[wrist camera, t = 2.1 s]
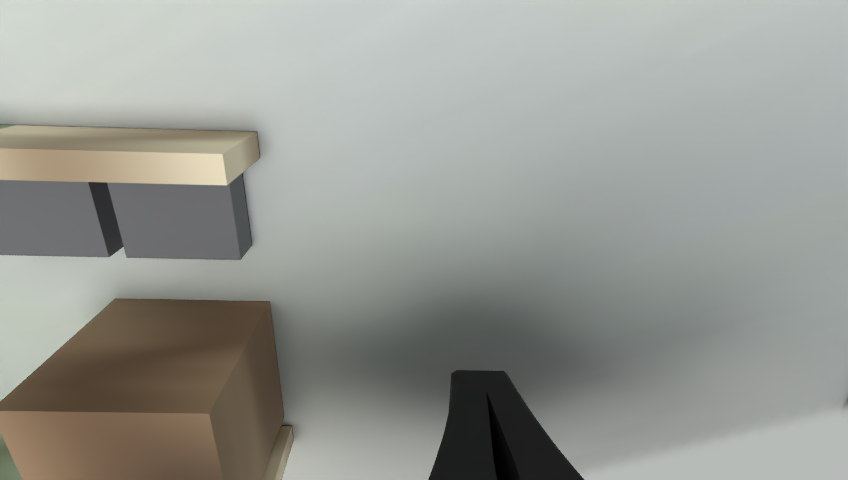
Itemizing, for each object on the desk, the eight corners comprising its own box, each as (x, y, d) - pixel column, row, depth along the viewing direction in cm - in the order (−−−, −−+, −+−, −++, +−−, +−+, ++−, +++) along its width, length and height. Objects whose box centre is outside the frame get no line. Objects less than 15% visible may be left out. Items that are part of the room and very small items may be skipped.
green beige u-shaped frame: (256, 131, 10) (222, 153, 9) (293, 440, 14) (275, 501, 12) (-231, 118, 10) (-372, 139, 8) (-58, 436, 14) (-129, 497, 12)
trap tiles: (240, 166, 11) (228, 176, 10) (251, 245, 12) (240, 259, 11) (-9, 160, 11) (-40, 169, 10) (20, 240, 11) (-7, 254, 11)
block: (270, 299, 12) (208, 413, 9) (284, 413, 14) (237, 550, 10) (117, 296, 12) (-10, 410, 9) (149, 412, 14) (55, 548, 10)
